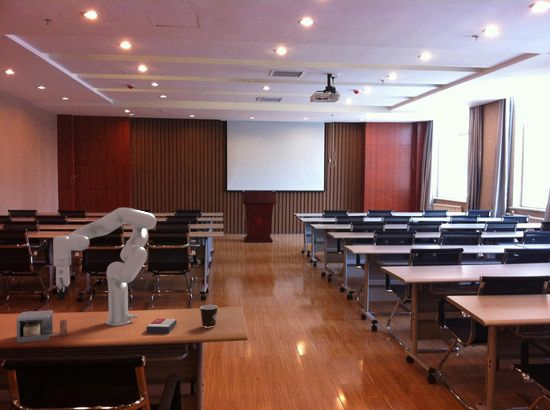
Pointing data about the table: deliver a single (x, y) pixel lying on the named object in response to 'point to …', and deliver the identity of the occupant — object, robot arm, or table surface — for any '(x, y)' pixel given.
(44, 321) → the block
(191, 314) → the table surface
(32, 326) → the corded block
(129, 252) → the robot arm
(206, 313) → the coffee mug
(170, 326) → the flat cardboard box
